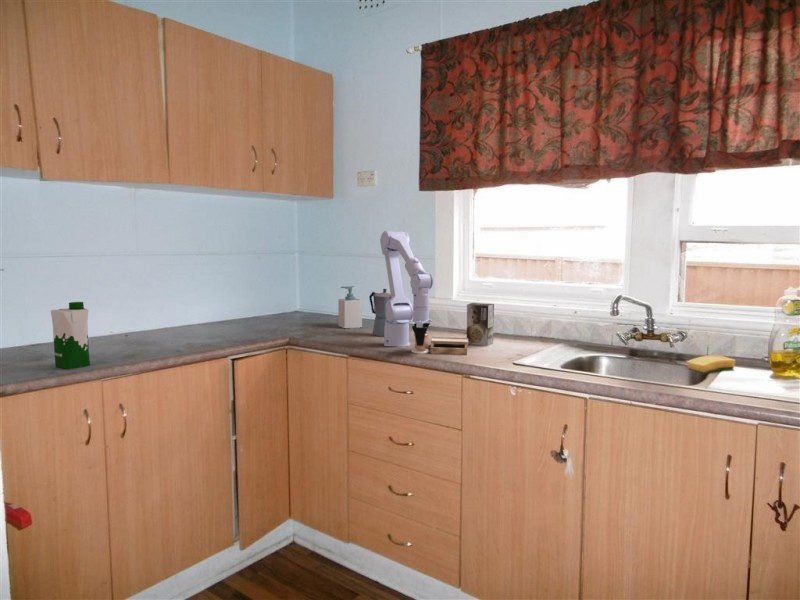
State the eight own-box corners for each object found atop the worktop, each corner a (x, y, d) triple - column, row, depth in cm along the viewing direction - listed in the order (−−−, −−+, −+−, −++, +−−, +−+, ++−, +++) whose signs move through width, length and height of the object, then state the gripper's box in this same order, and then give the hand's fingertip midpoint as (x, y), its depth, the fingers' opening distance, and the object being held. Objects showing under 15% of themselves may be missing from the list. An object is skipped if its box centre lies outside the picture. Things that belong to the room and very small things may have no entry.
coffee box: (493, 344, 214) (494, 303, 213) (487, 347, 209) (488, 305, 207) (472, 342, 219) (473, 302, 217) (465, 344, 213) (466, 303, 212)
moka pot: (389, 338, 225) (389, 290, 223) (361, 334, 234) (361, 288, 232) (403, 335, 233) (403, 288, 230) (375, 331, 242) (375, 286, 240)
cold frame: (430, 354, 194) (430, 347, 194) (432, 346, 210) (433, 339, 210) (467, 355, 193) (467, 348, 192) (466, 347, 208) (467, 340, 208)
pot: (427, 350, 195) (427, 335, 194) (413, 350, 195) (413, 334, 195) (428, 347, 200) (428, 332, 199) (414, 346, 200) (414, 332, 200)
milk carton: (94, 365, 174) (91, 302, 172) (64, 370, 166) (60, 305, 164) (80, 361, 179) (77, 300, 177) (50, 366, 171) (46, 303, 169)
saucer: (410, 354, 195) (410, 351, 195) (412, 350, 201) (412, 348, 201) (428, 354, 194) (428, 352, 194) (430, 351, 200) (430, 348, 200)
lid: (430, 343, 202) (430, 340, 202) (432, 339, 211) (432, 336, 210) (468, 344, 200) (468, 342, 200) (468, 340, 209) (468, 337, 209)
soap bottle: (338, 326, 256) (337, 285, 254) (355, 325, 260) (355, 285, 258) (344, 328, 249) (343, 287, 246) (362, 327, 252) (362, 286, 250)
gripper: (431, 309, 188) (430, 348, 190) (433, 304, 202) (432, 340, 204) (410, 309, 189) (410, 347, 190) (414, 304, 203) (414, 340, 205)
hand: (420, 344), depth 197 cm, fingers closed on pot, 5 cm apart
